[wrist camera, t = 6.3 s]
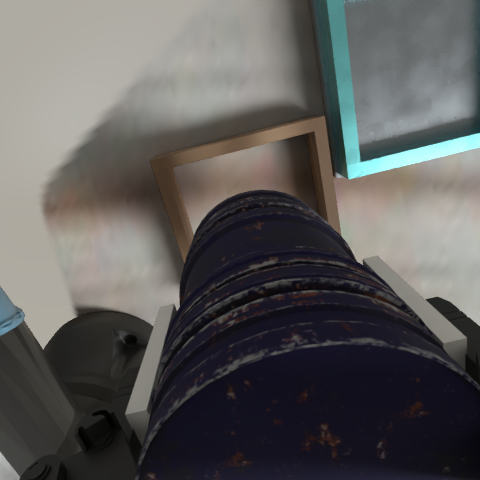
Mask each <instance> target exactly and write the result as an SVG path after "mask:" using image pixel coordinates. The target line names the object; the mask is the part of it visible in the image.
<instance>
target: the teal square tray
mask: <svg viewBox="0 0 480 480" xmlns="http://www.w3.org/2000/svg"><path fill="white" fill-rule="evenodd" d="M309 2H310V9H311V16H312V23H313V31H314V38H315V45H316V52H317V60H318V67H319V74H320V81H321V89H322V96H323V103H324V111H325V118H326V125H327V132H328V140H329V147H330V154H331V161H332V169H333V176H334V177H335V178H340V177H345V178H347V179H352V178H356V177H360V176H364V175H368V174H372V173H376V172H380V171H384V170H388V169H393V168H397V167H401V166H405V165H409V164H413V163H417V162H421V161H425V160H429V159H433V158H437V157H441V156H445V155H450V154H454V153H458V152H462V151H466V150H470V149H474V148H478V147H480V0H309Z"/></svg>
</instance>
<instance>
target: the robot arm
mask: <svg viewBox="0 0 480 480" xmlns="http://www.w3.org/2000/svg"><path fill="white" fill-rule="evenodd" d="M363 266H365V267H367V268H368V269H370V270H372V271H374V272H375V273H376V274H377V275H378V276H380V277H381V278H382V279H383V280H384V281H386V282H387V283H388V284H389V285H390V287H391V288H392V289H393V290H394V292H395V293H396V294H397V295H398V296H399V297H400V298H401V299H402V300H403V301H404V302H405V303H406V304H407V305H408V306H409V307H410V308H411V309H412V310H413V311H414V312H415V313H416V314H417V315H418V316H419V317H420V318H421V319H422V321H423V322H424V323H425V324H426V326H427V327H428V328H429V329H430V331H431V332H432V333H433V335H434V337H435V339H436V340H437V341H438V343H439V344H440V345H441V346H442V347H443V348H444V350H445V351H446V352H447V354H448V355H449V356H450V357H451V358H452V359H454V360H455V361H456V362H457V363H458V364H459V365H460V366H461V367H462V368H463V369H464V370H465V371H466V372H467V373H468V374H469V375H470V376H471V377H472V378H473V380H474V381H475V382H476V383H477V384H478V385H479V386H480V326H479V325H477V324H476V323H475V322H474V321H473V320H471V319H470V318H469V317H467V315H465V314H464V313H463V312H462V311H460V310H459V309H458V308H457V307H456V306H454V305H453V304H452V303H451V302H449V301H447V300H444V299H442V298H439V297H434V298H430V299H426V300H425V299H424V298H423V297H422V296H421V295H420V294H419V293H418V292H416V291H415V290H414V289H413V288H412V287H411V286H410V285H409V284H408V283H407V282H406V281H404V280H403V279H402V278H401V277H400V276H399V275H398V274H397V273H396V272H395V271H394V270H392V269H391V268H390V267H389V266H388V265H387V264H386V263H385V262H384V261H383V260H382V259H380V258H379V257H378V256H374V257H370V258H366V259H363ZM176 312H177V311H176V308H175V305H174V304H172V305H168V306H163V307H160V309H159V312H158V315H157V318H156V321H155V324H154V327H152V326H151V325H149V324H148V323H146V322H144V321H142V320H140V319H138V318H136V317H133V316H130V315H126V314H122V313H116V312H95V313H89V314H85V315H82V316H79V317H76V318H74V319H72V320H70V321H69V322H67V323H66V324H64V325H63V326H62V327H61V328H60V329H59V330H58V331H57V332H56V333H55V334H54V336H53V337H52V338H51V340H50V341H49V342H48V344H47V345H46V346H45V348H44V350H43V349H42V348H41V346H40V344H39V343H38V341H37V340H36V338H35V337H34V335H33V334H32V332H31V331H30V329H29V328H28V326H27V325H26V323H25V321H24V317H25V314H24V312H23V311H22V309H20V308H18V307H17V306H14V304H13V303H12V302H11V300H10V299H9V298H8V296H7V295H6V293H5V292H4V291H3V289H2V288H1V287H0V480H135V478H136V472H137V467H138V462H139V458H140V453H141V449H142V445H143V441H144V437H145V434H146V431H147V429H148V424H149V418H150V413H151V408H152V400H151V398H152V393H153V387H154V382H155V377H156V374H157V369H158V366H159V362H160V358H161V355H162V351H163V346H164V341H165V336H166V334H167V331H168V329H169V326H170V324H171V321H172V319H173V318H174V316H175V315H176Z"/></svg>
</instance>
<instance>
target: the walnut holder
mask: <svg viewBox="0 0 480 480" xmlns="http://www.w3.org/2000/svg"><path fill="white" fill-rule="evenodd" d="M302 134H306V137H307V143H308V150H309V156H310V162H311V168H312V175H313V181H314V187H315V193H316V199H317V206H318V212H319V215H320V216H321V217H322V218H323V219H325V220H326V221H327V222H328V223H329V224H330V225H331V226H332V227H333V229H334V230H335V231H337V232H338V233H339V234H340V235H341V230H340V223H339V216H338V208H337V201H336V194H335V187H334V179H333V172H332V165H331V158H330V150H329V143H328V136H327V129H326V121H325V116H310V117H306V118H303V119H299V120H295V121H291V122H287V123H283V124H279V125H275V126H271V127H267V128H264V129H260V130H256V131H252V132H248V133H244V134H240V135H236V136H232V137H229V138H225V139H221V140H217V141H213V142H209V143H205V144H201V145H197V146H193V147H190V148H186V149H182V150H178V151H174V152H170V153H166V154H162V155H158V156H156V157H155V158H153V159H151V160H150V163H151V166H152V169H153V172H154V175H155V178H156V181H157V184H158V187H159V190H160V193H161V196H162V199H163V202H164V205H165V208H166V211H167V214H168V216H169V219H170V222H171V225H172V228H173V231H174V234H175V237H176V240H177V243H178V246H179V249H180V252H181V255H182V258H183V261H184V264H185V260H186V256H187V253H188V251H189V248H190V246H191V244H192V240H193V238H194V234H193V231H192V228H191V225H190V222H189V218H188V215H187V212H186V209H185V206H184V203H183V199H182V196H181V193H180V190H179V187H178V183H177V180H176V177H175V174H174V171H173V167H176V166H180V165H184V164H188V163H192V162H196V161H200V160H203V159H207V158H211V157H215V156H219V155H223V154H227V153H231V152H235V151H239V150H243V149H247V148H251V147H255V146H259V145H262V144H266V143H270V142H274V141H278V140H282V139H286V138H290V137H294V136H298V135H302Z"/></svg>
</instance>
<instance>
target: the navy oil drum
mask: <svg viewBox="0 0 480 480" xmlns="http://www.w3.org/2000/svg"><path fill="white" fill-rule="evenodd" d="M179 298H180V308H179V309H178V311H177V312H176V315H175V316H174V318H173V319H172V321H171V324H170V326H169V329H168V331H167V334H166V336H165V341H164V346H163V351H162V355H161V358H160V362H159V366H158V369H157V374H156V377H155V382H154V387H153V393H152V398H151V400H152V408H151V413H150V418H149V424H148V429H147V431H146V434H145V437H144V441H143V445H142V449H141V453H140V458H139V462H138V467H137V472H136V478H135V480H480V386H479V385H478V384H477V383H476V382H475V381H474V380H473V378H472V377H471V376H470V375H469V374H468V373H467V372H466V371H465V370H464V369H463V368H462V367H461V366H460V365H459V364H458V363H457V362H456V361H455V360H454V359H452V358H451V357H450V356H449V355H448V354H447V352H446V351H445V350H444V348H443V347H442V346H441V345H440V344H439V343H438V341H437V340H436V339H435V337H434V335H433V333H432V332H431V331H430V329H429V328H428V327H427V326H426V324H425V323H424V322H423V321H422V319H421V318H420V317H419V316H418V315H417V314H416V313H415V312H414V311H413V310H412V309H411V308H410V307H409V306H408V305H407V304H406V303H405V302H404V301H403V300H402V299H401V298H400V297H399V296H398V295H397V294H396V293H395V292H394V290H393V289H392V288H391V287H390V285H389V284H388V283H387V282H386V281H384V280H383V279H382V278H381V277H380V276H378V275H377V274H376V273H375V272H374V271H372V270H370V269H368V268H367V267H365V266H363V265H362V264H360V263H358V262H357V261H356V259H355V257H354V255H353V253H352V251H351V249H350V247H349V246H348V244H347V242H346V241H345V240H344V239H343V238H342V236H341V235H340V234H339V233H338V232H337V231H335V230H334V229H333V227H332V226H331V225H330V224H329V223H328V222H327V221H326V220H325V219H323V218H322V217H321V216H320V215H319V214H318V213H316V212H315V211H314V210H312V209H311V208H310V207H309V206H308V205H307V204H306V203H304V202H302V201H301V200H299V199H298V198H296V197H294V196H291V195H289V194H286V193H283V192H278V191H273V190H254V191H248V192H244V193H240V194H237V195H235V196H232V197H230V198H228V199H226V200H224V201H223V202H221V203H220V204H218V205H217V206H216V207H214V208H213V209H212V210H211V211H210V212H209V213H208V214H207V215H206V216H205V218H204V219H203V220H202V221H201V223H200V225H199V226H198V228H197V230H196V232H195V235H194V238H193V240H192V244H191V246H190V248H189V251H188V253H187V256H186V260H185V264H184V269H183V272H182V276H181V281H180V295H179Z"/></svg>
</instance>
